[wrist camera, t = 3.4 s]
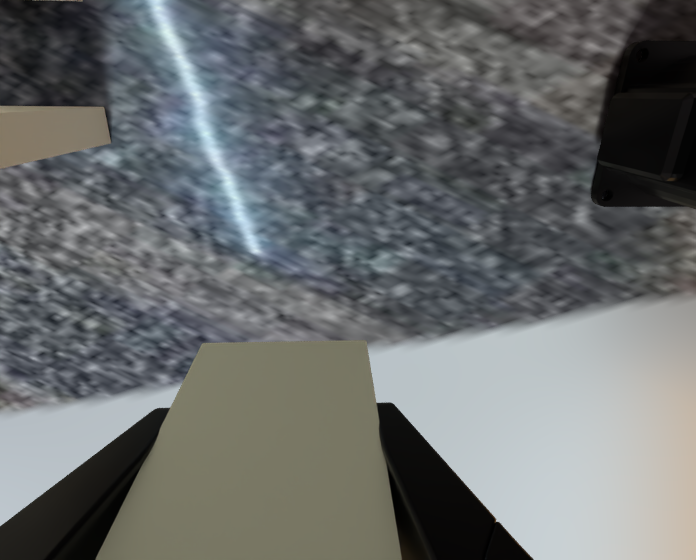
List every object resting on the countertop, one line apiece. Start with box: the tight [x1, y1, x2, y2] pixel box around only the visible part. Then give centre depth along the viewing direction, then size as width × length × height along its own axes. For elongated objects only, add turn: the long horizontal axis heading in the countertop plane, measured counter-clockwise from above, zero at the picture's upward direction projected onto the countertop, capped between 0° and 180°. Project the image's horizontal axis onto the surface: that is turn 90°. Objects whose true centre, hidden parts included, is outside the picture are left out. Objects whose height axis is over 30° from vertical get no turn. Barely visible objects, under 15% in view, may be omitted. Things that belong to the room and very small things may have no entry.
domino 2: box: [95, 340, 402, 560], centre depth 7 cm, size 4×1×8 cm, turn 90°
